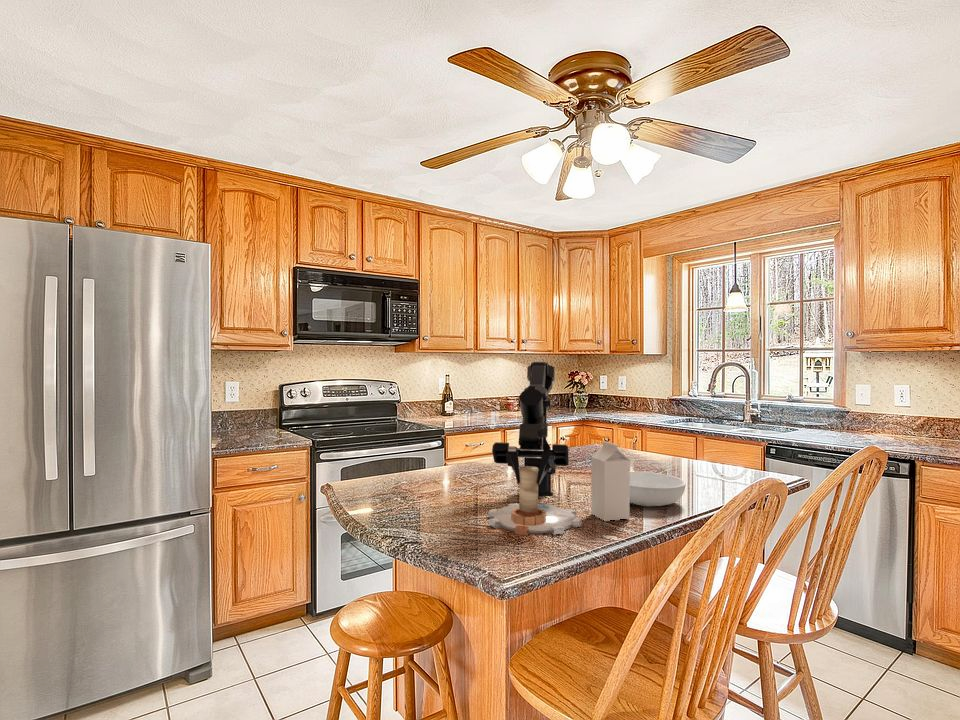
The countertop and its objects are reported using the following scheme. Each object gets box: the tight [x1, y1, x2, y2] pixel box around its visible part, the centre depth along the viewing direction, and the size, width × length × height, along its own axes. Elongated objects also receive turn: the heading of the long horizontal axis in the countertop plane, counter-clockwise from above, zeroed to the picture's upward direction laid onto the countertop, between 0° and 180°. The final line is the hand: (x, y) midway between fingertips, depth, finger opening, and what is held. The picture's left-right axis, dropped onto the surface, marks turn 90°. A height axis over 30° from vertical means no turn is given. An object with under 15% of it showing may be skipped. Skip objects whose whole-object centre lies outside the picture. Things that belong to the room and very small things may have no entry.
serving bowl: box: [629, 471, 687, 507], centre depth 154 cm, size 21×21×7 cm
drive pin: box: [518, 465, 539, 512], centre depth 131 cm, size 4×4×10 cm
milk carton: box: [590, 440, 631, 522], centre depth 139 cm, size 7×7×19 cm
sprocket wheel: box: [487, 502, 583, 536], centre depth 136 cm, size 23×23×4 cm
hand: (528, 483), depth 130 cm, fingers closed on drive pin, 4 cm apart
